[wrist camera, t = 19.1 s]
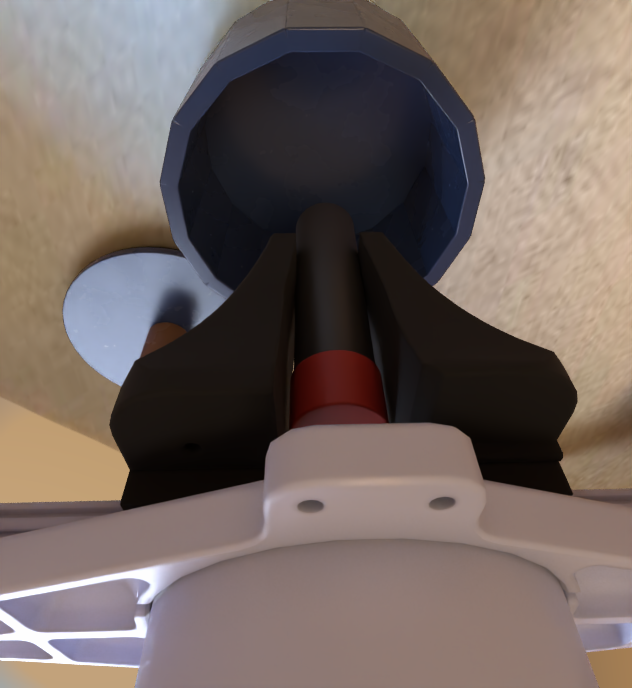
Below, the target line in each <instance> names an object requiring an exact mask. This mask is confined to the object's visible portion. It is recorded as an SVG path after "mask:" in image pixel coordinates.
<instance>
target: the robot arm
mask: <svg viewBox="0 0 632 688" xmlns="http://www.w3.org/2000/svg"><path fill="white" fill-rule="evenodd" d="M358 258H359V264H360V271H361V277H362V282H363V288H364V294H365V301H366V307H367V313H368V320H369V326H370V332H371V338H372V345H373V351H374V357H375V364H376V366H377V367H378V369H379V370H380V373H381V377H382V383H383V389H384V395H385V401H386V407H387V413H388V419H389V423H383V424H335V425H312V426H306V427H301V428H295V429H291V430H289V414H290V379H291V376H292V371H293V363H294V336H295V287H296V276H297V250H296V233H274V234H273V235H272V236H271V237H270V239H269V241H268V243H267V245H266V247H265V249H264V250H263V252H262V254H261V255H260V257H259V259H258V260H257V262H256V263H255V265H254V266H253V267H252V269H251V270H250V272H249V273H248V275H247V276H246V277H245V278H244V280H243V281H242V282H241V283H240V285H239V286H238V287H237V288H236V290H235V291H234V292H233V293H232V294H231V295H230V296H229V297H228V299H227V300H226V301H225V302H224V303H223V304H222V305H221V306H220V307H218V308H217V309H216V310H215V311H214V312H213V313H212V314H211V315H209V316H208V317H207V318H206V319H204V320H203V321H202V322H201V323H199V324H198V325H197V326H195V327H194V328H192V329H191V330H189V331H188V332H187V333H185V334H184V335H182V336H180V337H179V338H177V339H175V340H174V341H172V342H170V343H169V344H167V345H165V346H163V347H161V348H159V349H157V350H155V351H153V352H151V353H149V354H147V355H145V356H143V357H141V358H139V359H137V360H135V361H134V363H133V365H132V367H131V369H130V371H129V373H128V375H127V376H126V378H125V381H124V383H123V385H122V387H121V389H120V392H119V395H118V398H117V400H116V403H115V406H114V409H113V411H112V414H111V419H110V429H111V432H112V436H113V438H114V440H115V442H116V443H117V445H118V447H119V449H120V451H121V453H122V455H123V457H124V459H125V461H126V463H127V465H128V467H129V469H130V472H129V475H128V478H127V482H126V485H125V489H124V492H123V496H122V499H121V501H120V500H119V501H79V502H78V501H75V502H32V503H0V660H12V661H31V662H49V663H66V664H84V665H102V666H119V667H137V668H139V670H138V675H137V679H136V684H135V688H599V686H598V683H597V680H596V678H595V675H594V672H593V670H592V667H591V664H590V662H589V659H588V656H587V654H586V652H594V651H602V650H611V649H620V648H629V647H632V489H594V490H571V488H570V485H569V483H568V481H567V479H566V477H565V474H564V472H563V470H562V468H561V466H560V463H559V461H561V460H562V458H563V452H562V450H561V448H560V446H559V444H558V442H557V439H558V437H559V436H560V434H561V432H562V431H563V429H564V427H565V426H566V424H567V422H568V421H569V419H570V417H571V416H572V414H573V412H574V410H575V407H576V404H577V402H578V401H577V391H576V389H575V387H574V385H573V383H572V382H571V380H570V377H569V376H568V374H567V372H566V370H565V368H564V367H563V365H562V364H561V362H560V360H559V359H558V357H557V356H556V355H555V353H554V352H552V351H550V350H547V349H544V348H542V347H539V346H537V345H534V344H531V343H529V342H526V341H523V340H521V339H518V338H516V337H514V336H512V335H509V334H507V333H505V332H503V331H501V330H499V329H497V328H495V327H493V326H491V325H489V324H487V323H485V322H483V321H482V320H480V319H478V318H476V317H475V316H473V315H471V314H470V313H468V312H466V311H465V310H463V309H462V308H460V307H459V306H457V305H456V304H454V303H453V302H452V301H450V300H449V299H448V298H446V297H445V296H444V295H442V294H441V293H440V292H438V291H437V290H436V289H435V288H434V287H432V286H431V285H430V284H429V283H428V282H427V281H426V280H425V279H424V278H423V277H421V276H420V275H419V274H418V273H417V272H416V271H415V269H414V268H413V267H412V266H411V265H410V264H409V263H408V262H407V261H406V260H405V259H404V258H403V257H402V255H401V254H400V253H399V252H398V251H397V249H396V248H395V247H394V246H393V245H392V243H391V242H390V241H389V240H388V239H387V237H386V236H385V235H384V234H383V233H382V232H360V233H359V247H358Z"/></svg>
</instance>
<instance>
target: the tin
mask: <svg viewBox="0 0 632 688" xmlns="http://www.w3.org/2000/svg"><path fill="white" fill-rule="evenodd" d="M484 183H485V175H484V169H483V163H482V157H481V151H480V146H479V140H478V134H477V128H476V122H475V119H474V116H473V114H472V113H471V112H470V110H469V109H468V107H467V106H466V105H465V103H464V102H463V101H462V99H461V98H460V96H459V95H458V94H457V92H456V91H455V90H454V88H453V87H452V85H451V84H450V83H449V81H448V80H447V79H446V77H445V76H444V74H443V73H442V72H441V70H440V69H439V68H438V66H437V65H436V63H435V62H434V61H433V60H432V58H431V57H430V56H429V54H428V53H427V52H426V51H425V49H424V48H423V47H422V46H421V44H420V43H419V42H418V40H417V39H416V38H415V37H414V35H413V34H412V33H411V31H410V30H409V29H408V28H407V26H406V25H405V24H404V23H403V21H401V20H400V19H399V18H397V17H395V16H393V15H391V14H389V13H388V12H386V11H384V10H383V9H381V8H380V7H378V6H376V5H375V4H373V3H370V2H368V1H366V0H272V1H270V2H267V3H265V4H263V5H261V6H260V7H258V8H256V9H255V10H253V11H252V12H250V13H248V14H247V15H246V16H244V17H242V18H240V19H238V20H237V22H235V23H234V24H233V25H232V27H231V28H230V29H229V31H228V32H227V33H226V35H225V36H224V37H223V38H222V40H221V41H220V42H219V44H218V45H217V47H216V48H215V50H214V51H213V52H212V54H211V55H210V56H209V58H208V59H207V60H206V62H205V63H204V64H203V66H202V68H201V69H200V71H199V73H198V75H197V77H196V78H195V80H194V82H193V84H192V85H191V87H190V89H189V91H188V93H187V94H186V96H185V98H184V100H183V102H182V103H181V105H180V107H179V109H178V110H177V112H176V114H175V116H174V118H173V120H172V122H171V127H170V132H169V137H168V142H167V148H166V153H165V158H164V163H163V168H162V173H161V178H160V187H161V192H162V196H163V200H164V204H165V208H166V213H167V217H168V221H169V225H170V229H171V234H172V238H173V240H174V242H175V244H176V245H177V247H178V248H179V249H180V251H181V252H182V253H183V255H184V256H185V258H186V259H187V260H188V262H189V263H190V265H191V266H192V267H193V269H194V270H195V272H196V273H197V274H198V276H199V277H200V279H201V280H202V281H203V283H204V284H206V286H208V287H209V288H211V289H212V290H214V291H215V292H216V293H218V294H219V295H221V296H222V297H224V298H225V299H228V297H229V296H230V295H231V294H232V293H233V292H234V291H235V290H236V288H237V287H238V286H239V285H240V283H241V282H242V281H243V280H244V278H245V277H246V276H247V275H248V273H249V272H250V270H251V269H252V267H253V266H254V265H255V263H256V262H257V260H258V259H259V257H260V255H261V254H262V252H263V250H264V249H265V247H266V245H267V243H268V241H269V239H270V237H271V236H272V235H273V234H274V233H296V224H297V221H298V219H299V217H300V215H301V214H302V213H303V212H304V211H305V210H306V209H307V208H309V207H310V206H313V205H315V204H318V203H333V204H336V205H338V206H340V207H342V208H343V209H345V210H346V211H347V212H348V213H349V215H350V216H351V218H352V221H353V225H354V231H355V238H356V244H357V250H358V247H359V233H360V232H382V233H383V234H384V235H385V236H386V237H387V239H388V240H389V241H390V242H391V243H392V245H393V246H394V247H395V248H396V249H397V251H398V252H399V253H400V254H401V255H402V257H403V258H404V259H405V260H406V261H407V262H408V263H409V264H410V265H411V266H412V267H413V268H414V269H415V271H416V272H417V273H418V274H419V275H420V276H421V277H423V278H424V279H425V280H426V281H427V282H428V283H429V284H430V285H431V286H433V285H435V284H436V283H438V281H439V280H440V279H441V277H442V276H443V275H444V273H445V272H446V270H447V269H448V268H449V266H450V265H451V263H452V262H453V261H454V259H455V258H456V257H457V255H458V254H459V252H460V251H461V250H462V248H463V247H464V245H465V244H466V243H467V241H468V240H469V238H470V236H471V233H472V230H473V226H474V222H475V218H476V214H477V210H478V206H479V202H480V198H481V195H482V191H483V187H484Z"/></svg>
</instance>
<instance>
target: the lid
mask: <svg viewBox="0 0 632 688" xmlns="http://www.w3.org/2000/svg"><path fill="white" fill-rule="evenodd" d="M226 300H227V299H225V298H224V297H222V296H221V295H219V294H218V293H216V292H215V291H214V290H212V289H211V288H209V287H208V286H206V284H204V283H203V281H202V280H201V279H200V277H199V276H198V274H197V273H196V272H195V270H194V269H193V267H192V266H191V265H190V263H189V262H188V260H187V259H186V258H185V256H184V255H183V253H182V252H181V251H178V250H174V249H166V248H157V247H141V248H130V249H125V250H120V251H116V252H113V253H110V254H107V255H105V256H102V257H100V258H98V259H97V260H95V261H93V262H91V263H90V264H89V265H87V266H86V267H85V268H84V269H82V270H81V271H80V273H79V274H78V275H77V276H76V277H75V278H74V280H73V282H72V283H71V285H70V287H69V289H68V290H67V293H66V296H65V299H64V303H63V322H64V326H65V330H66V333H67V335H68V337H69V339H70V341H71V343H72V345H73V346H74V348H75V349H76V351H77V352H78V353H79V354H80V356H81V357H82V358H83V359H84V360H85V361H86V362H87V363H88V364H89V365H90V366H91V367H92V368H93V369H95V370H96V371H97V372H98V373H100V374H101V375H103V376H104V377H106V378H107V379H109V380H110V381H112V382H114V383H116V384H118V385H120V386H122V385H123V383H124V381H125V378H126V376H127V375H128V373H129V371H130V369H131V367H132V365H133V363H134V361H135V360H137V359H139V358H141V357H143V356H145V355H147V354H149V353H151V352H153V351H155V350H157V349H159V348H161V347H163V346H165V345H167V344H169V343H170V342H172V341H174V340H175V339H177V338H179V337H180V336H182V335H184V334H185V333H187V332H188V331H189V330H191V329H192V328H194V327H195V326H197V325H198V324H199V323H201V322H202V321H203V320H204V319H206V318H207V317H208V316H209V315H211V314H212V313H213V312H214V311H215V310H216V309H217V308H218V307H220V306H221V305H222V304H223V303H224V302H225V301H226Z"/></svg>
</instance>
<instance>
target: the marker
mask: <svg viewBox="0 0 632 688" xmlns="http://www.w3.org/2000/svg"><path fill="white" fill-rule="evenodd" d="M296 250H297V276H296V287H295V336H294V371H293V373H292V376H291V379H290V414H289V430H291V429H295V428H301V427H306V426H312V425H335V424H383V423H389V419H388V413H387V407H386V401H385V395H384V389H383V383H382V377H381V373H380V370H379V369H378V367H377V366H376V364H375V357H374V351H373V345H372V338H371V332H370V326H369V320H368V313H367V307H366V301H365V294H364V288H363V282H362V277H361V271H360V264H359V258H358V250H357V244H356V238H355V231H354V225H353V221H352V218H351V216H350V215H349V213H348V212H347V211H346V210H345V209H343V208H342V207H340V206H338V205H336V204H333V203H318V204H315V205H313V206H310V207H309V208H307V209H306V210H305V211H304V212H303V213H302V214H301V215H300V217H299V219H298V221H297V224H296Z"/></svg>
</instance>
